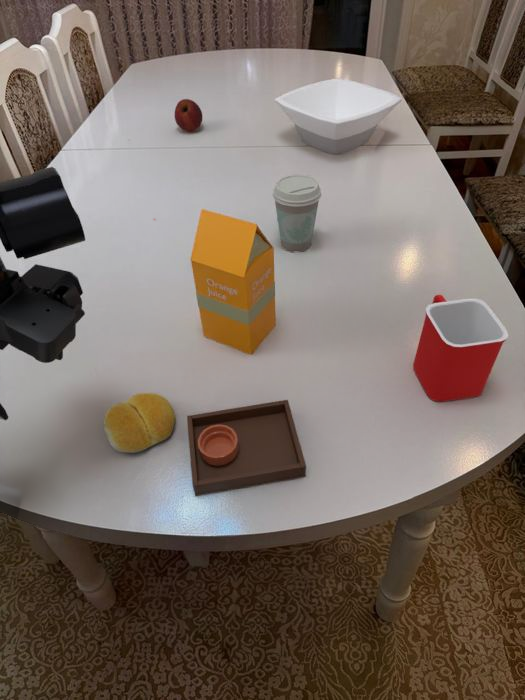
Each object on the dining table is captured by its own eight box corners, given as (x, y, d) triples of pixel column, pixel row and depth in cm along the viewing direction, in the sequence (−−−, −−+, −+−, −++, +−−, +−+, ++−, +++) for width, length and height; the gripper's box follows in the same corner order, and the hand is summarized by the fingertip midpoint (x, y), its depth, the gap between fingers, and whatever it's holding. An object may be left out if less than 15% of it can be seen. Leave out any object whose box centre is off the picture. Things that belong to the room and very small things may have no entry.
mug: (488, 396, 67) (514, 339, 59) (430, 405, 66) (448, 348, 58) (451, 336, 75) (468, 279, 68) (398, 343, 74) (410, 287, 67)
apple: (171, 133, 134) (166, 102, 129) (185, 123, 139) (180, 92, 134) (195, 137, 132) (191, 105, 127) (208, 126, 137) (205, 95, 132)
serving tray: (195, 496, 58) (192, 486, 56) (189, 426, 65) (186, 415, 64) (305, 476, 59) (306, 466, 58) (287, 410, 66) (287, 399, 65)
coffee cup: (270, 254, 92) (268, 194, 84) (277, 230, 98) (276, 171, 90) (316, 257, 91) (319, 197, 83) (320, 232, 97) (323, 173, 88)
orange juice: (229, 307, 82) (217, 195, 68) (276, 324, 78) (273, 210, 64) (202, 336, 77) (182, 222, 63) (251, 356, 74) (241, 240, 60)
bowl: (335, 171, 115) (338, 126, 108) (267, 139, 129) (266, 97, 122) (404, 141, 125) (411, 98, 118) (334, 115, 140) (336, 75, 132)
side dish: (201, 470, 60) (199, 460, 58) (198, 438, 63) (196, 427, 62) (241, 464, 60) (239, 453, 59) (235, 432, 64) (234, 421, 62)
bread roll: (186, 431, 65) (181, 413, 62) (121, 465, 61) (113, 447, 58) (159, 391, 70) (154, 372, 67) (98, 421, 66) (90, 402, 63)
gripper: (-40, 365, 36) (37, 478, 47) (105, 232, 48) (138, 347, 59) (-150, 332, 39) (-53, 446, 50) (12, 215, 51) (61, 327, 62)
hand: (32, 386), depth 55 cm, fingers open, 9 cm apart
